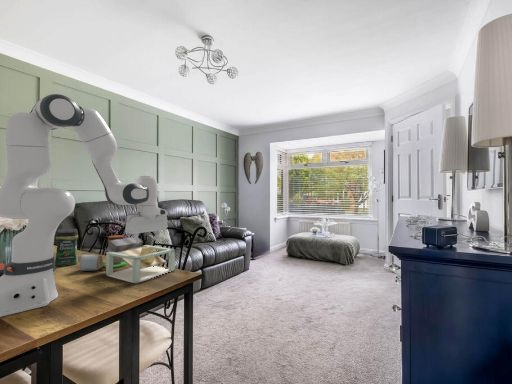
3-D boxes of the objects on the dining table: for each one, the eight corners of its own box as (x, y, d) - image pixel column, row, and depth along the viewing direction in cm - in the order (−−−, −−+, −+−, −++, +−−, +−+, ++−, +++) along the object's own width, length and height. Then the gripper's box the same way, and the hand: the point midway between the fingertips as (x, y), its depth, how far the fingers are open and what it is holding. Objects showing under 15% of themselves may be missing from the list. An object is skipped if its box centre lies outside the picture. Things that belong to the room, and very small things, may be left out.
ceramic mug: (98, 271, 127) (98, 255, 127) (78, 272, 125) (79, 256, 125) (105, 266, 137) (105, 251, 137) (87, 267, 135) (87, 252, 135)
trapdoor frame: (135, 283, 110) (135, 258, 110) (106, 275, 121) (106, 252, 121) (174, 271, 128) (174, 249, 129) (146, 265, 139) (146, 244, 139)
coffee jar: (53, 267, 134) (53, 230, 134) (57, 263, 141) (57, 228, 141) (76, 265, 138) (76, 229, 139) (78, 261, 145) (79, 227, 146)
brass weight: (145, 264, 120) (148, 252, 119) (139, 259, 123) (142, 247, 122) (153, 262, 124) (156, 250, 123) (146, 257, 126) (149, 245, 125)
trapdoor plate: (134, 275, 115) (137, 264, 114) (104, 250, 126) (107, 240, 125) (164, 266, 129) (166, 257, 128) (135, 245, 140) (137, 236, 139)
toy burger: (95, 266, 136) (96, 237, 136) (118, 261, 147) (119, 234, 147) (110, 269, 130) (110, 239, 130) (133, 264, 141) (133, 235, 142)
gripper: (131, 213, 112) (131, 246, 112) (169, 210, 130) (169, 239, 130) (122, 212, 116) (121, 244, 115) (160, 210, 133) (160, 238, 133)
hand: (147, 241), depth 123 cm, fingers open, 8 cm apart
